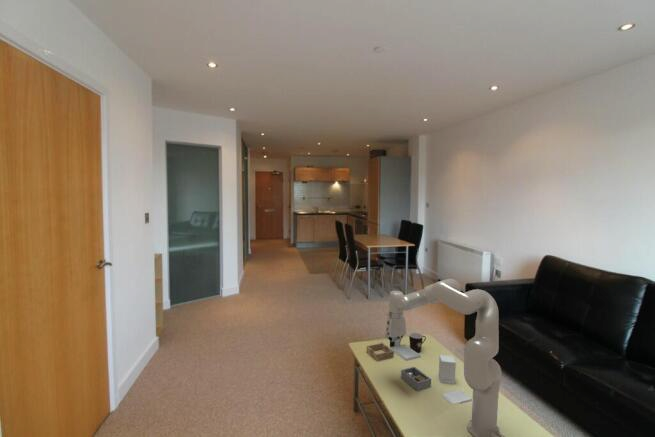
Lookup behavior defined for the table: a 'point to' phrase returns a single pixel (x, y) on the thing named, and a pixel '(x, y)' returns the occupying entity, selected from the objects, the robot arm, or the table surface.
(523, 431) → the table surface
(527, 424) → the table surface
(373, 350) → the frame
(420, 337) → the coffee mug
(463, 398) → the hard drive
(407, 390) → the table surface
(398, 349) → the lid
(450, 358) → the supplement box
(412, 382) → the tub
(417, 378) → the walnut block
